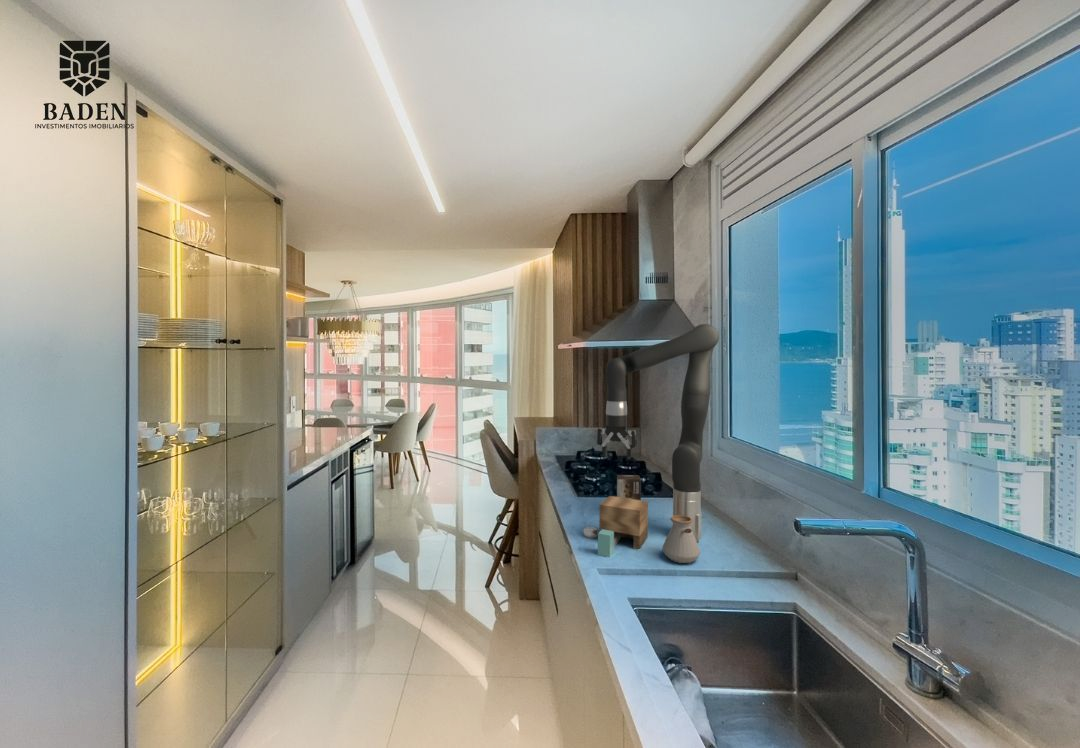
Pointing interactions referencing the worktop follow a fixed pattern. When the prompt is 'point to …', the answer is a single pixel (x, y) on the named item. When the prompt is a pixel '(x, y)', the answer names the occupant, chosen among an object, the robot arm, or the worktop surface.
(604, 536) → the sage green eraser
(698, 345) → the robot arm
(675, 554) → the coffee pot
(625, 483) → the coffee box
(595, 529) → the steel token
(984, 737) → the worktop surface
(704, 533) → the worktop surface
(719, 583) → the worktop surface
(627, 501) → the cabinet
